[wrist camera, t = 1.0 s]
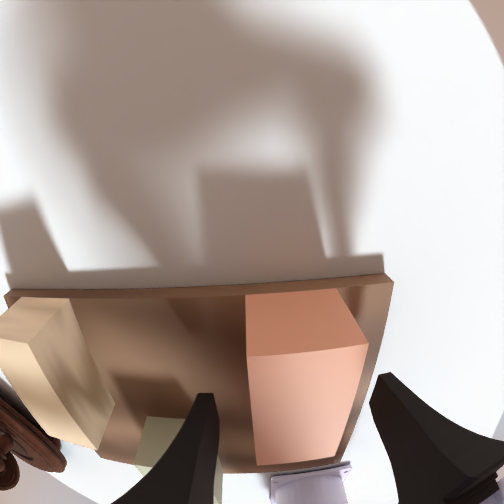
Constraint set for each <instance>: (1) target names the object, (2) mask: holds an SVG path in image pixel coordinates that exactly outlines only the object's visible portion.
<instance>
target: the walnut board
mask: <svg viewBox="0 0 504 504" xmlns="http://www.w3.org/2000/svg"><path fill="white" fill-rule="evenodd" d="M393 285H394V282H393V281H392V280H391V279H390V278H389V277H388V276H387V275H386V274H385V273H384V274H374V275H364V276H353V277H341V278H329V279H317V280H304V281H290V282H275V283H259V284H242V285H223V286H202V287H178V288H146V289H88V290H50V289H12V290H10V291H9V292H8V293H7V294H5V295H4V298H5V301H6V304H7V306H8V309H9V308H10V307H11V306H12V305H13V304H14V303H15V302H16V301H18V300H19V299H20V298H21V297H36V298H69V300H70V303H71V305H72V308H73V311H74V314H75V317H76V319H77V322H78V325H79V327H80V330H81V332H82V335H83V337H84V340H85V342H86V344H87V347H88V349H89V351H90V354H91V356H92V358H93V360H94V362H95V364H96V367H97V369H98V371H99V373H100V375H101V377H102V379H103V381H104V383H105V385H106V387H107V389H108V391H109V393H110V394H111V396H112V398H113V400H114V402H115V406H114V409H113V411H112V414H111V416H110V419H109V421H108V424H107V426H106V429H105V432H104V434H103V437H102V440H101V442H100V445H99V448H98V450H95V451H96V453H97V454H98V455H99V456H100V457H101V458H104V459H108V460H113V461H117V462H122V463H127V464H132V465H134V462H135V458H136V455H137V451H138V447H139V443H140V440H141V436H142V432H143V429H144V425H145V422H146V418H147V416H152V417H163V418H177V419H186V417H187V415H188V413H189V411H190V409H191V407H192V405H193V403H194V400H195V398H196V395H197V394H198V393H213V394H214V398H215V402H216V407H217V411H218V415H219V419H220V435H219V447H218V457H219V460H220V463H221V466H222V468H223V473H262V472H276V471H287V470H295V469H303V468H310V467H317V466H323V465H328V464H334V463H339V462H340V461H341V458H342V456H343V454H344V452H345V449H346V447H347V445H348V442H349V440H350V437H351V435H352V432H353V430H354V427H355V425H356V422H357V419H358V417H359V414H360V411H361V408H362V405H363V403H364V400H365V397H366V394H367V391H368V387H369V384H370V381H371V378H372V374H373V371H374V368H375V364H376V361H377V357H378V353H379V349H380V346H381V342H382V338H383V333H384V329H385V325H386V320H387V316H388V311H389V306H390V301H391V296H392V290H393ZM332 288H336V289H337V291H338V292H339V294H340V295H341V297H342V299H343V300H344V302H345V304H346V305H347V307H348V309H349V310H350V312H351V314H352V315H353V317H354V319H355V320H356V322H357V324H358V325H359V327H360V329H361V331H362V332H363V334H364V336H365V337H366V339H367V341H368V343H369V345H368V350H367V354H366V358H365V362H364V366H363V370H362V374H361V377H360V381H359V385H358V388H357V392H356V395H355V398H354V402H353V405H352V408H351V411H350V414H349V417H348V420H347V423H346V426H345V429H344V432H343V435H342V438H341V440H340V443H339V446H338V448H337V451H336V454H335V456H332V457H327V458H321V459H315V460H308V461H301V462H293V463H283V464H272V465H257V462H256V453H255V443H254V432H253V422H252V412H251V401H250V390H249V379H248V368H247V355H246V306H245V295H252V294H268V293H283V292H296V291H309V290H321V289H332Z"/></svg>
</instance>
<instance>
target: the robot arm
mask: <svg viewBox="0 0 504 504" xmlns="http://www.w3.org/2000/svg"><path fill="white" fill-rule="evenodd" d="M369 405H370V408H371V412H372V416H373V420H374V422H375V425H376V427H377V430H378V432H379V435H380V437H381V439H382V442H383V444H384V446H385V449H386V451H387V454H388V456H389V459H390V462H391V465H392V469H393V473H394V477H395V482H396V487H397V492H398V498H399V504H504V477H503V478H502V479H500V480H499V481H498V482H496V480H495V479H496V478H497V477H498V475H497V473H496V471H497V470H498V469H499V468H500V467H502V466H503V465H504V441H500V440H495V439H491V438H488V437H485V436H482V435H479V434H477V433H474V432H472V431H469V430H467V429H465V428H463V427H461V426H459V425H457V424H455V423H454V422H452V421H450V420H449V419H447V418H445V417H444V416H442V415H441V414H439V413H438V412H437V411H435V410H434V409H433V408H431V407H430V406H429V405H427V404H426V403H425V402H424V401H422V400H421V399H420V398H419V397H418V396H417V395H415V394H414V393H413V392H412V391H411V390H410V389H409V388H407V387H406V386H405V385H404V384H403V383H402V382H401V381H400V380H399V379H398V378H396V377H395V376H394V375H393V374H392V373H391V372H389V373H384V374H380V375H378V378H377V381H376V384H375V387H374V390H373V393H372V396H371V399H370V402H369ZM219 435H220V419H219V415H218V411H217V407H216V402H215V398H214V394H213V393H198V394H197V395H196V398H195V400H194V403H193V405H192V407H191V409H190V411H189V413H188V415H187V417H186V419H185V421H184V423H183V425H182V426H181V428H180V430H179V432H178V433H177V435H176V437H175V438H174V440H173V441H172V443H171V444H170V446H169V447H168V449H167V450H166V451H165V453H164V454H163V455H162V457H161V458H160V459H159V460H158V462H157V463H156V464H155V465H154V466H153V468H152V469H151V470H150V471H149V472H148V473H147V474H146V475H145V476H144V477H143V478H142V479H141V480H140V481H139V482H138V483H137V484H136V485H135V486H133V487H132V488H131V489H130V490H129V491H128V492H126V493H125V494H124V495H123V496H121V497H120V498H119V499H117V500H116V501H114V502H113V503H111V504H214V478H215V471H216V463H217V455H218V447H219ZM351 469H352V467H351V465H346V466H341V467H336V468H331V469H326V470H320V471H314V472H308V473H300V474H292V475H283V476H274V477H272V478H271V504H348V502H347V498H346V493H345V489H344V485H343V483H344V481H345V479H346V478H347V476H348V474H349V472H350V471H351Z"/></svg>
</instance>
